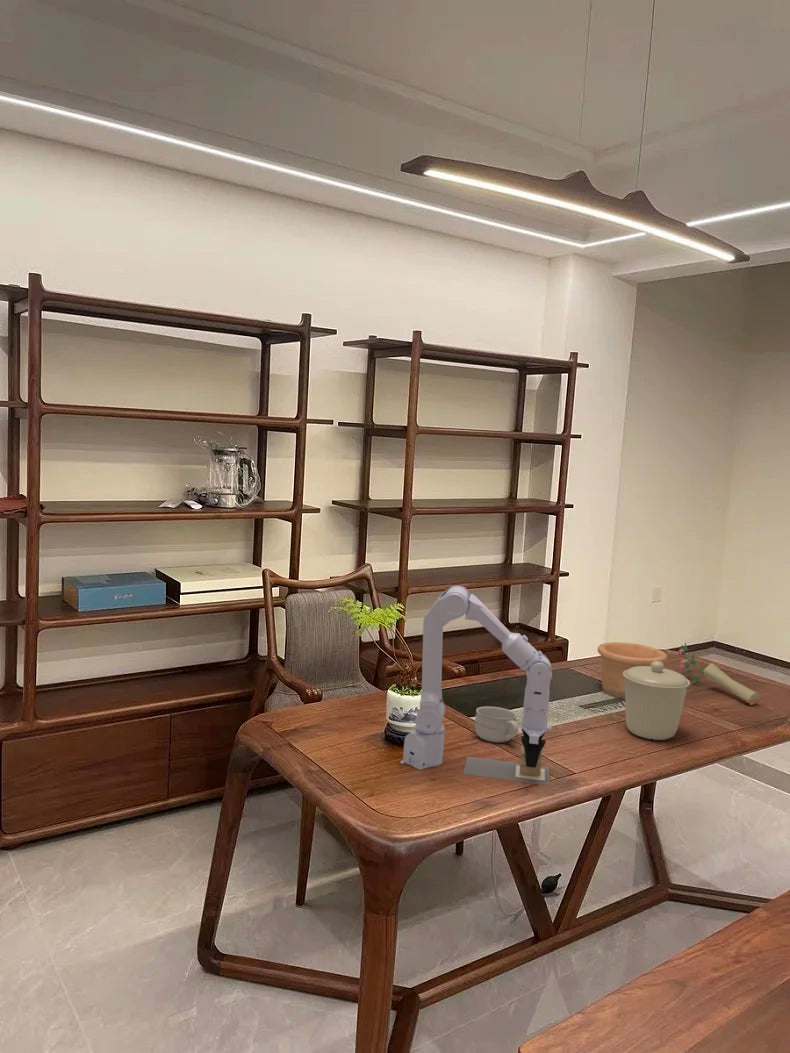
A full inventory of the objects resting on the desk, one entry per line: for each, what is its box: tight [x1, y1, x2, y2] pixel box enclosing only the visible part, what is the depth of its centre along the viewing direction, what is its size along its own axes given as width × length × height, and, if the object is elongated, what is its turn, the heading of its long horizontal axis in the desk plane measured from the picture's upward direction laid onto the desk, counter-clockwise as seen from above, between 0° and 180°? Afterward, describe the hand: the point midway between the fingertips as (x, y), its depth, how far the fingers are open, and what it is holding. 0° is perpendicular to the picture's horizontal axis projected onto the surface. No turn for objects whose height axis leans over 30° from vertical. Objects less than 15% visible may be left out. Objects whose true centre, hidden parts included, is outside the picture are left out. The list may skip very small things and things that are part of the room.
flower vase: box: [677, 642, 760, 700], centre depth 275 cm, size 12×12×35 cm
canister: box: [623, 661, 691, 741], centre depth 227 cm, size 18×18×21 cm
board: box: [463, 755, 551, 786], centre depth 193 cm, size 20×11×1 cm, turn 80°
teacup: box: [474, 706, 519, 744], centre depth 213 cm, size 14×11×8 cm
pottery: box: [597, 641, 668, 700], centre depth 265 cm, size 22×22×14 cm
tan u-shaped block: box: [519, 742, 543, 776], centre depth 192 cm, size 5×5×6 cm
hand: (531, 762), depth 192 cm, fingers closed on tan u-shaped block, 5 cm apart
